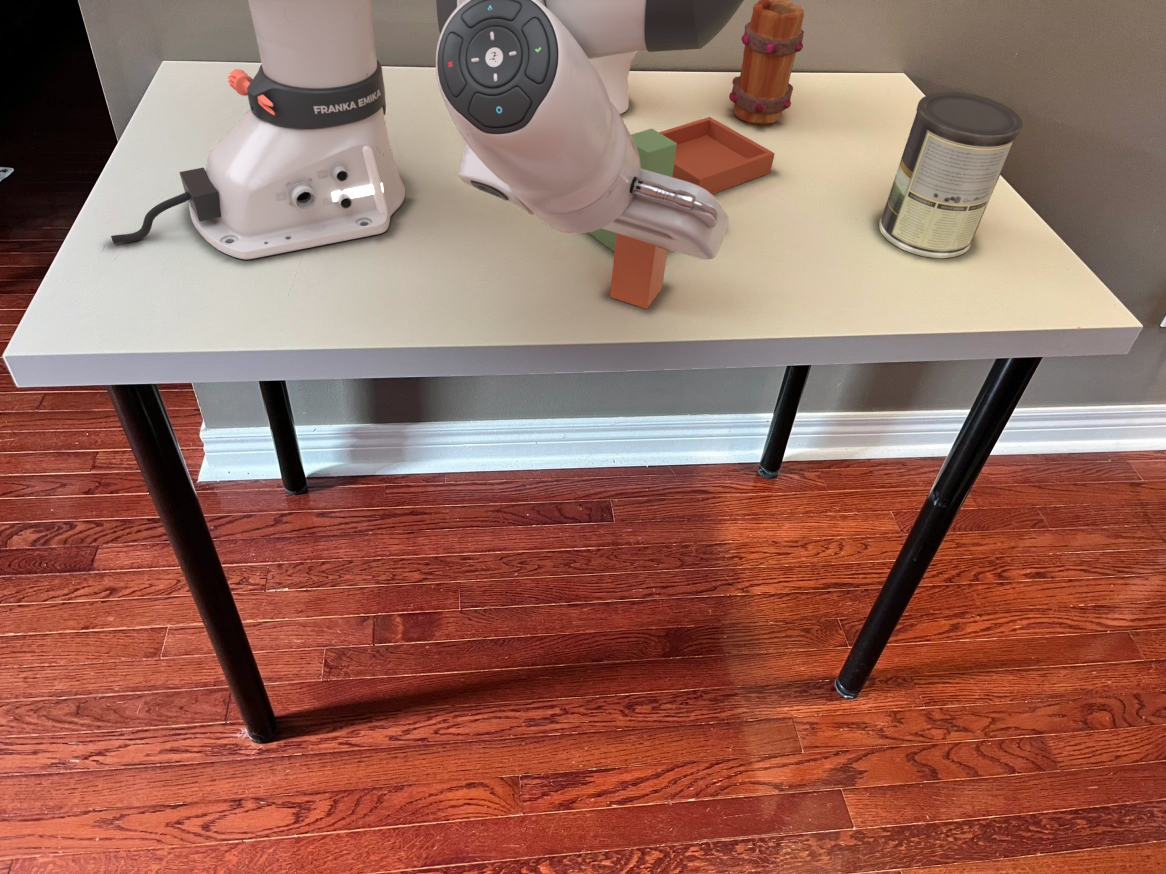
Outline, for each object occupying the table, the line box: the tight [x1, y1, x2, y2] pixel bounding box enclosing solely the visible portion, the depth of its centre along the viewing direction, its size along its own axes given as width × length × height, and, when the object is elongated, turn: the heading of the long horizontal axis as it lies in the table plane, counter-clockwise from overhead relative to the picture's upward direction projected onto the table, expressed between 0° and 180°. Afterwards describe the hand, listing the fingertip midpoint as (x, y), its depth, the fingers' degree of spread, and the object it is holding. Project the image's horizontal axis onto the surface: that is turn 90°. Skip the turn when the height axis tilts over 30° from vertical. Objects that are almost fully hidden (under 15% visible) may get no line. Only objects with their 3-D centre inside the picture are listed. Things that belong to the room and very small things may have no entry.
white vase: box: [589, 51, 639, 115], centre depth 113 cm, size 11×11×15 cm
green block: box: [630, 128, 677, 177], centre depth 93 cm, size 4×4×9 cm
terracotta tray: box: [658, 116, 776, 195], centre depth 106 cm, size 12×11×3 cm
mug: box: [728, 0, 805, 125], centre depth 115 cm, size 15×8×15 cm, turn 168°
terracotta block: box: [609, 233, 669, 310], centre depth 84 cm, size 4×4×10 cm
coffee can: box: [878, 91, 1023, 259], centre depth 94 cm, size 10×10×14 cm
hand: (619, 225), depth 75 cm, fingers open, 8 cm apart
